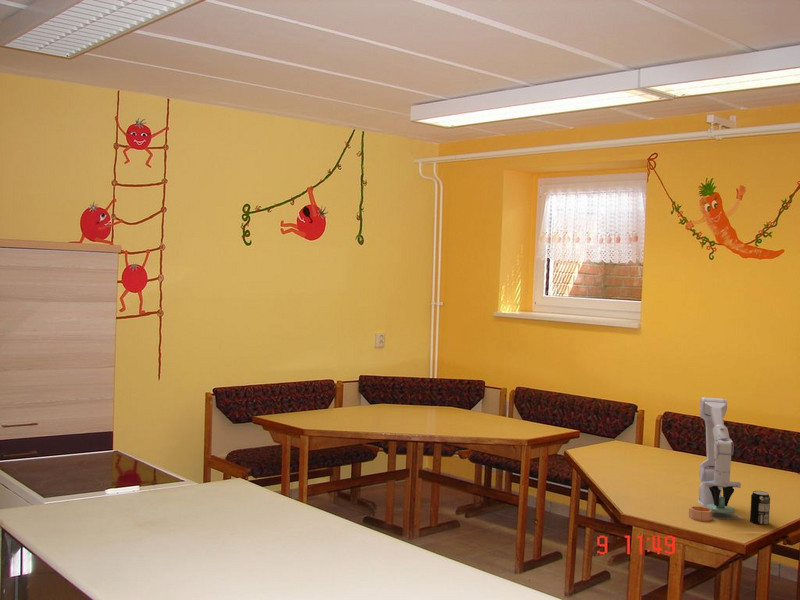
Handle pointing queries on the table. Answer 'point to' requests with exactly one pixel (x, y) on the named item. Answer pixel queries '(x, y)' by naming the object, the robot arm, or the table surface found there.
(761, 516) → the beverage can
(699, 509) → the bowl
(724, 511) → the lid
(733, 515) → the mat
